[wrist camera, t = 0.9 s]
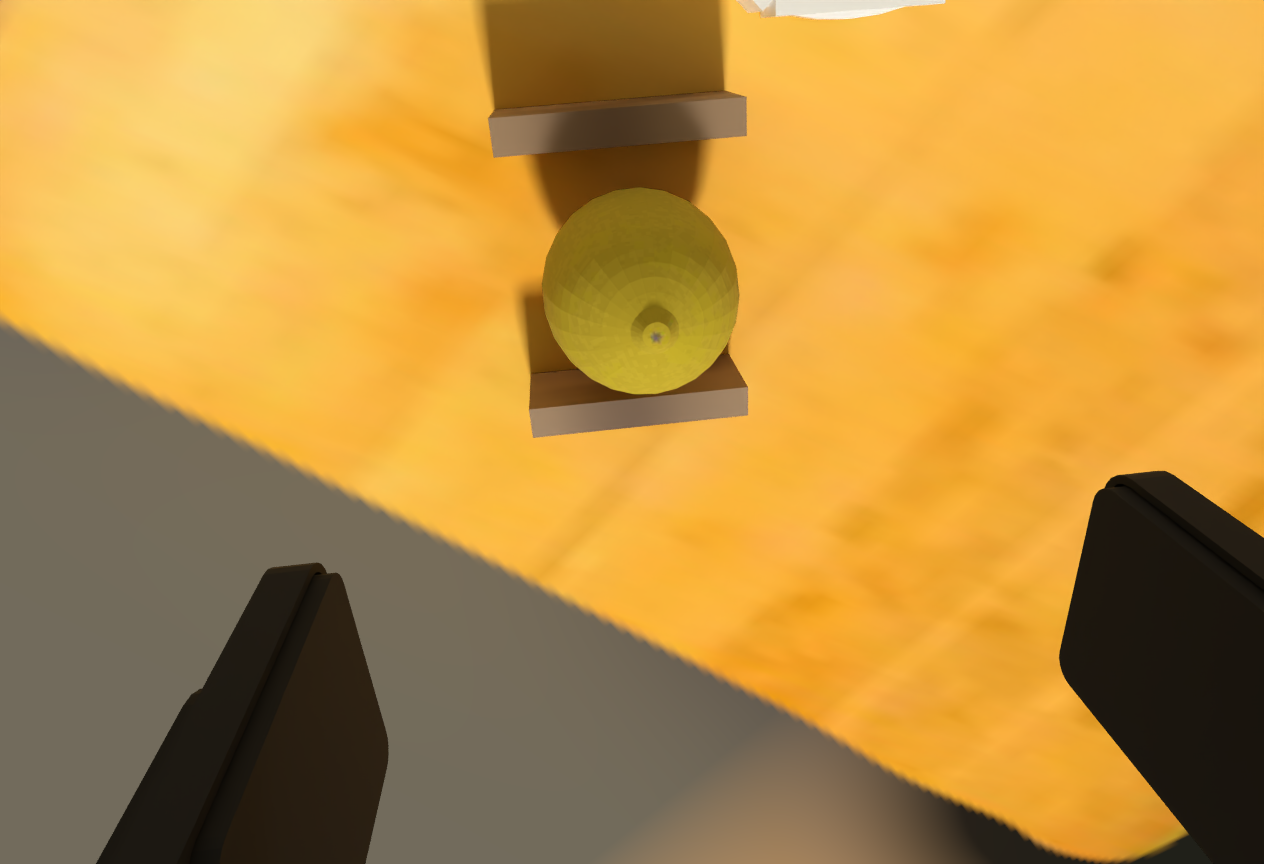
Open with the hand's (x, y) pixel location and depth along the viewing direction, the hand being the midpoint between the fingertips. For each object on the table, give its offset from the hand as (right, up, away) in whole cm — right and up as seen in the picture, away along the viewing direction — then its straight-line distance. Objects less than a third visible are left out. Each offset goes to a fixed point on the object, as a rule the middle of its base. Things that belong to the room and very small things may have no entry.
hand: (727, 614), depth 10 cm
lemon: (-1, +8, +16) cm, 19 cm away
